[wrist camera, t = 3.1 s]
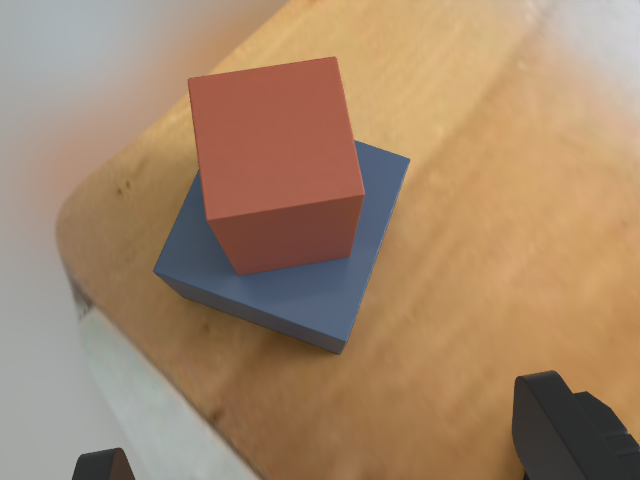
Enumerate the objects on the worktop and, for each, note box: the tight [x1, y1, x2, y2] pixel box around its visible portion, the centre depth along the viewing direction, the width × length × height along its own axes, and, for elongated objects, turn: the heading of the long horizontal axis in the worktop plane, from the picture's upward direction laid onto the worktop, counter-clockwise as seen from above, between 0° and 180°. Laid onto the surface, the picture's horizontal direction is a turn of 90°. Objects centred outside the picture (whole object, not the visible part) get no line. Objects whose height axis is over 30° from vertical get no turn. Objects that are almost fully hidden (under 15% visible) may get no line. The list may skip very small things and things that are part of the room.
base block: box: [153, 140, 410, 354], centre depth 30 cm, size 9×9×6 cm
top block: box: [188, 57, 365, 276], centre depth 23 cm, size 5×5×8 cm
